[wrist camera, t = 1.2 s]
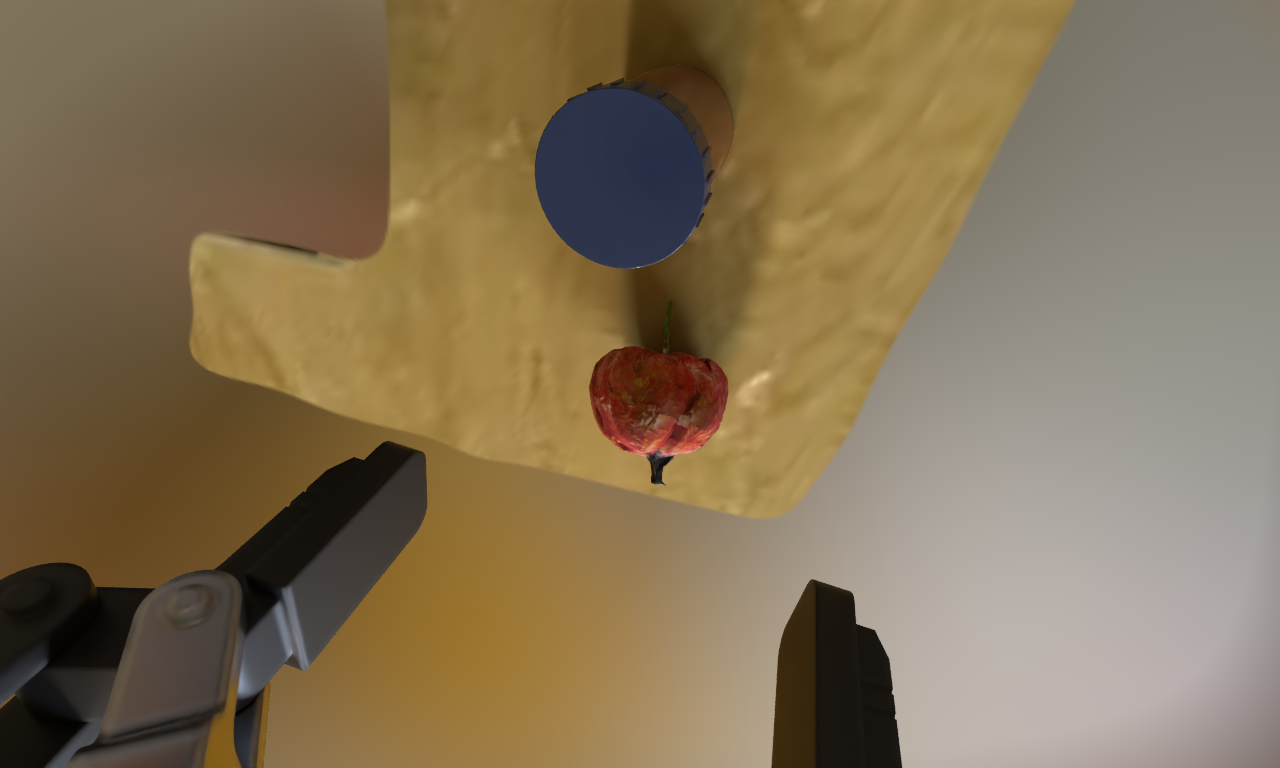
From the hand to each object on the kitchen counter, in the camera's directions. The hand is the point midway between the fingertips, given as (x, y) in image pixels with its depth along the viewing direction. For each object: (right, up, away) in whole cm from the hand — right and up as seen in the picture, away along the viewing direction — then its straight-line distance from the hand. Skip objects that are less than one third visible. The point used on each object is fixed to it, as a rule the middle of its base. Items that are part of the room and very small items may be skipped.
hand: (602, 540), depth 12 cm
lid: (0, +10, +8) cm, 12 cm away
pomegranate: (+3, +5, +23) cm, 23 cm away
